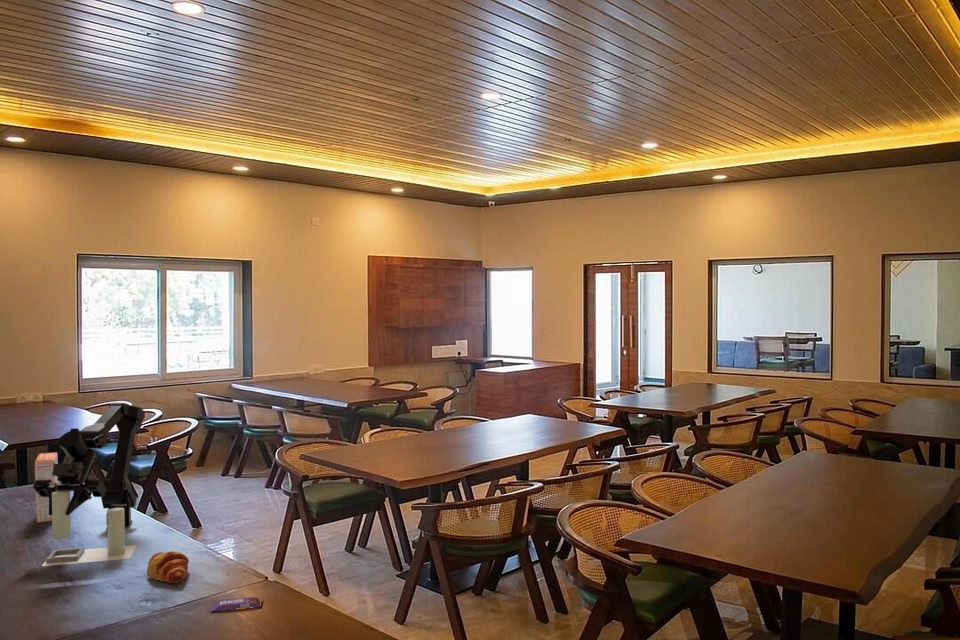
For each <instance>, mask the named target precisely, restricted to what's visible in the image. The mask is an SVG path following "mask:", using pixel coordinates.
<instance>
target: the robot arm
mask: <svg viewBox="0 0 960 640" xmlns="http://www.w3.org/2000/svg"><path fill="white" fill-rule="evenodd" d="M145 417H146V413H145V410H143V408H142V407H140V406H136V405H135V406H134V405H131V404H128V403H126V402H112V403H110V404H109V406H108V408H107V409H106V411H104V413H103V414H101V416H100V417H99V418H98V419H97V420H96V421H95V422H94V423H93V424H91V425H88V426H85V427H84V428H82V429H81V430H80V429H79V428H70V430H69V431H67V432H65V433H64V434H63V435H61V436H60V437H59V439H58V445H59V447H60V448H61V449H62V450H63V452H64V453H65V454H66V456H67V457H68V458H71V459H70V461H69V463H58V464H54V468H53V472H52V475H53V476H54V475H55V476H57V477H58V478H57V480H58V482H60V483H58V484H57V483H53V482H52V481H51V480H50V479H38V480H36V481H35V480H34V482H33V484H32V486H31V487H32V489H34V491H36V492H37V493H38V494H39V496H41V497H49V515H52V493H53V492H56V491H64V490H66V491H70V492H72V493H73V494H72V496H71V497H72V498H70V504H69V506H68V508H67V511H66V515H70V516H71V514H72V513H73V512H74V511H75V510H76V509H78V508H79V507H80V506H81V505H83V504H84V503H85V502H86V501H88V500H91V499H92V498H101V499H100V500H101V502H102V503H101V504H102V508H103V509H107V510H109V509H112V508H124V526H125V528H129V527H130V526H131V524H132V523H133V520H132V508H134V507H136V503H137V497H136V496H135V494H134V492H133V491H132V484H131V481H130V479H129V472H130V466H131V459H132V454H133V448H134V443H135V436H136V433H137V432H138V431H140V429H141V427H142V426H143V423H144V420H145ZM115 425H116V428H117V429H118V430H117V431H118V438H117V442H116V443H117V444H116V449H115V453H114V454H115V455H114V461H113V466H112V472H111V476H110V477H109V478H108V479H105V480H104V482H102V480H101V479H100V478H90V476H91V474H90V473H89V472H90V469H91V466H92V465H93V462H98V457H97V455H96V452H95V451H94V450H101V449H102V448H103V447H104V446H105V445H106V443H107V442H108V440H109V439H108V434H109V433H110V432H111V431H112V430H113V428H115ZM36 492H35V493H36ZM92 496H93V497H92ZM105 515H106V516H105V518H106V520H107V512H106V514H105Z"/></svg>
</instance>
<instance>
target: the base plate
mask: <svg viewBox="0 0 960 640" xmlns="http://www.w3.org/2000/svg"><path fill="white" fill-rule="evenodd" d="M136 547H138V545H137V544H134V545H125V553H123V554H120V555H115V556H110V555H108V547H98V548H87V549H85V547H77V548H76V547H75V548H73V547H72V548H62V549H61V548H60V549H54V550H53V551H52V552H51V553H50V554H49V555H48V556H47V557H46V558H45V561H44V563H43V564H42V565H41V567H49V566H51V567H52V566H61V565H71V564H84V563H94V562H104V561H105V562H107V561H119V560H127V559H128V560H129V559H131V557H132V555H133V553H134V552H135V550H136Z"/></svg>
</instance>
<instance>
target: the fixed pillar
mask: <svg viewBox="0 0 960 640" xmlns="http://www.w3.org/2000/svg"><path fill="white" fill-rule="evenodd" d="M106 513H107V519H106V526H107V527H106V529H107V548H108V555H110V556H115V555H120V554H123V553H125V546H126V545H125V544H126V542H125V541H126V540H125V539H126V538H125V537H126V536H125V528H126V527H125V526H124V508H112V509H109V510H108V509H107V510H106Z"/></svg>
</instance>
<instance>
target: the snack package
mask: <svg viewBox="0 0 960 640" xmlns="http://www.w3.org/2000/svg"><path fill="white" fill-rule="evenodd" d="M260 599H261V598H258V597H256V596H246V597H235V598H224V599H220V600H218V601H217V602H212V606H211V609H210V612H216V611H220V612H224V611H223V610H231V609H236V608H250V607H258V608H261V607H260ZM231 611H232V610H231Z"/></svg>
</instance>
